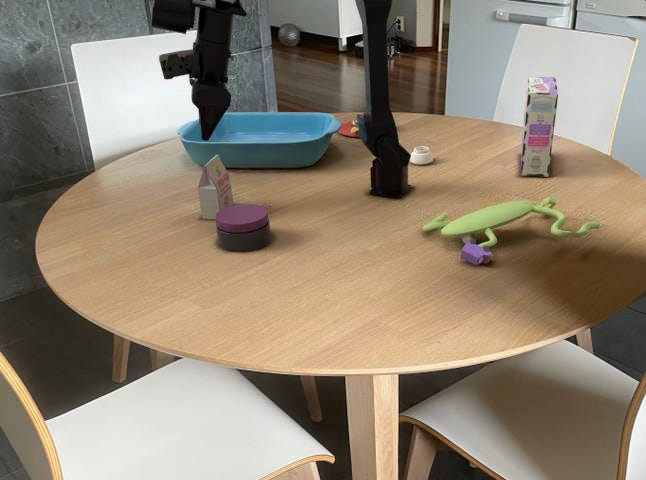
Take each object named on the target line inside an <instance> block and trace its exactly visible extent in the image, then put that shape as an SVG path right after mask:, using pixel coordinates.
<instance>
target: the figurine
mask: <svg viewBox="0 0 646 480" xmlns="http://www.w3.org/2000/svg"><path fill="white" fill-rule="evenodd" d="M547 204H549V207H547V206H545V205H547ZM556 205H557V199H556V198H555V197H552V196H548V197H545V199H544V200H543V201H542V202H541V203H540V204H538V205H537V203H536V202H535V201H532V200H526V199H521V200H513V201H508V202H503V203H499V204H498V203H497V204H494V205H491V206H487V207H484V208H480V209H478V210H474V211H472V212H470V213H467V214H466V215H462V216H460V217H457V218H456V219H455V220H447V219H448V213H447V212H446V211H444V212H442V213H441V214H440V215H439V216H437V217H435V218H434V219H432V220H431V221H429V222H427V223H425V224H424V225H423V226H422V228H421V229H422V232H424V233H428V232H431V231H433V230H434V231H435V230H437V229H441V228H442V229H441V230H440V231H441V233H440V234H441V235H442V236H444V237H454V238H458V239H461V240H462V242H463V244H464V245H463V247H462V248H461V251H460V259H461V260H463V261H466V262H468V263H470V264H472V265H475V266H479V265H480V264H488V263H489V262H490V259H491V257H492V253H493V252H491V251H490V250H491V249H490V247H494V246H495V245H496V244H497V243H498V239H497V237H496V235H495V233H494V232H493V230H494V231H497V232H502V233H504V231H503V230H501V229H497V228H500V227H503V226H505V225H508V224H511V223H513V222H515V221H517V220H520V219H522V218H523V217H525V216H527V215H528V214H530V213H535V214H540V215H545V216H550V217H553V218H556V219H557V220H555V222H554V223H552V225H551V227H550V232H551V234H552V235H554V236H556V237H561V238H581V237H583V236H585V235H586V234H588V231H589V230H591V229H592V230H593V229H600V227H601V225H600V222H599V221H597V220H596V221H587V222H584V224H583V225H581V227H580V229H579V230H578V231H567V230H561V229H559V228H560V227H562V226H563V225H564V224H565V223H566V222H567V220H568V216H567V215H566V214H565V213H563V211H560V210H558V209H554V207H555V206H556ZM483 232H484V233H485V235H486V236H487V238H488V239H489V240H488V241H485V242H481V243H478V244H476V243H477V239H478V237H479V234H480V233H483Z"/></svg>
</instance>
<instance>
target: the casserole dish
mask: <svg viewBox="0 0 646 480" xmlns="http://www.w3.org/2000/svg"><path fill="white" fill-rule="evenodd" d="M342 124H343V123H342V122H341V121H340V120H338V119H336V116H335V115H333V114H331V113H327V112H315V111H313V112H312V111H311V112H310V111H309V112H308V111H305V112H303V111H299V112H298V111H293V112H292V111H277V112H276V111H252V112H251V111H239V112H238V111H237V112H236V111H235V112H234V111H233V112H231V111H230V112H229V111H228V112H225V114H224V115H223V117H222V118H221V120H220V122H219V123H218V125H217V127H216V128H215V130H214V132H213V133H212V135H211V137H210V138H209V140H208V141H205V140H202V136H201V125H200V123H199V118H197V119H195V120H191V121H188V122H186V123H184V124H182V125H181V126H180V127H179V128H178V129H177V130H176V133H177V135H178V136H179V139H180V141H181V144H182V145H183V147H184V149H185V151H186V153H187V154H188V156H189V157H190V159H191V160H192V161H193V162H194V163H196V164H198V165H200V166H201V167H203V166H204V165H206V164H207V163H208V162H209V161H210V160H211V159H212V158H213V157H215V156H216V155H219V157H220V159H221V161H222V164H223V165H224V167H225V169H251V168H253V169H298V168H307V167H310V166H313V165H314V164H316V163H318V162H319V160H320V159H322V157H323V155H324V154H325V153H326V151H327V150H328V148H329V147H330V144H331V142H332V138H333V135H334V134H336V133H338V131H339V130H340V128H341V126H342Z"/></svg>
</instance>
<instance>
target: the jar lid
mask: <svg viewBox="0 0 646 480" xmlns="http://www.w3.org/2000/svg"><path fill="white" fill-rule="evenodd" d="M268 219H269V214H268V210H267V208H265V206H262V205H259V204H253V203H241V204H234V206H230V207H227V208H224V209H222V210H220V211H219V212H218V213H217V214H216V219H215V225H216V224H217V226H218V228H219V229H221V230H223V231H227V232H237V233H238V232H248V231H253V230H256V229H259V228H261V227H263V226H264V225H266V224H267V222H268Z"/></svg>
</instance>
